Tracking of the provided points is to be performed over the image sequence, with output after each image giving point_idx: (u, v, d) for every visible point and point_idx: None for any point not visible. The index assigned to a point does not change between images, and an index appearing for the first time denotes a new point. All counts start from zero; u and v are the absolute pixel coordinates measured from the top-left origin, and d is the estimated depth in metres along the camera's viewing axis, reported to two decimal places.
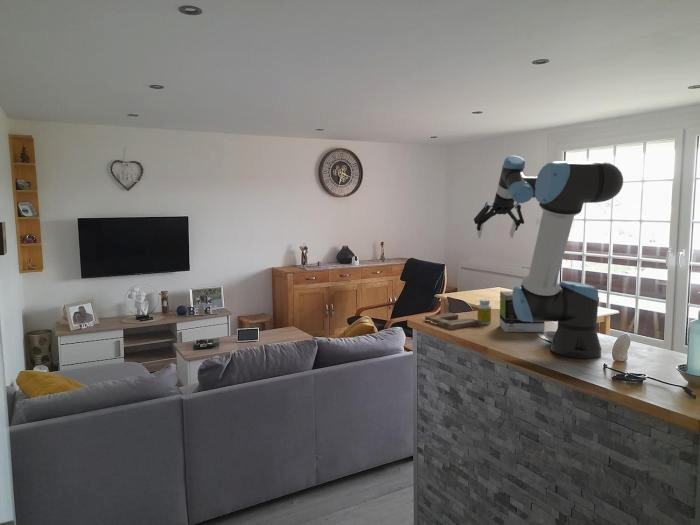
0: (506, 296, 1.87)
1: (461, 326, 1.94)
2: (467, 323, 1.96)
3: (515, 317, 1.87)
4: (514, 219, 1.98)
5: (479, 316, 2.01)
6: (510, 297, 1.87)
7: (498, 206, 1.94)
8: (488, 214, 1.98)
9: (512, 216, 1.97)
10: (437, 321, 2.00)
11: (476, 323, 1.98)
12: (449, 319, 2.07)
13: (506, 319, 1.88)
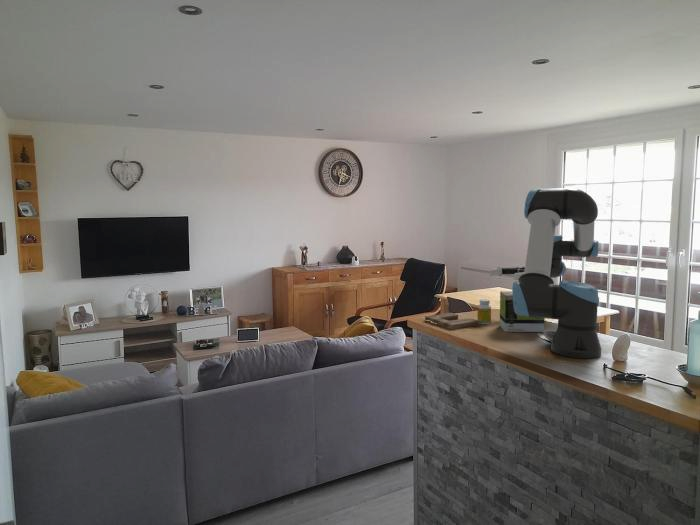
0: (506, 296, 1.87)
1: (461, 326, 1.94)
2: (467, 323, 1.96)
3: (515, 317, 1.87)
4: None
5: (479, 316, 2.01)
6: (510, 297, 1.87)
7: None
8: None
9: None
10: (437, 321, 2.00)
11: (476, 323, 1.98)
12: (449, 319, 2.07)
13: (506, 319, 1.88)
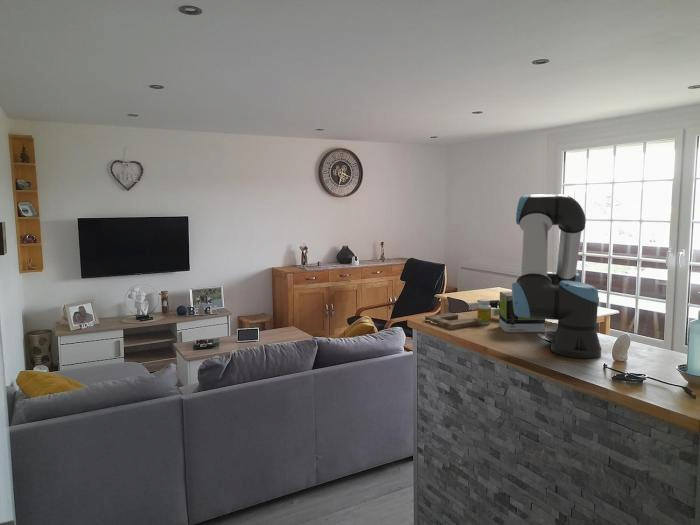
0: (507, 296, 1.86)
1: (461, 326, 1.94)
2: (467, 323, 1.96)
3: (516, 317, 1.86)
4: None
5: (479, 316, 2.01)
6: (511, 297, 1.86)
7: None
8: None
9: None
10: (437, 321, 2.00)
11: (476, 323, 1.98)
12: (449, 319, 2.07)
13: (507, 320, 1.87)
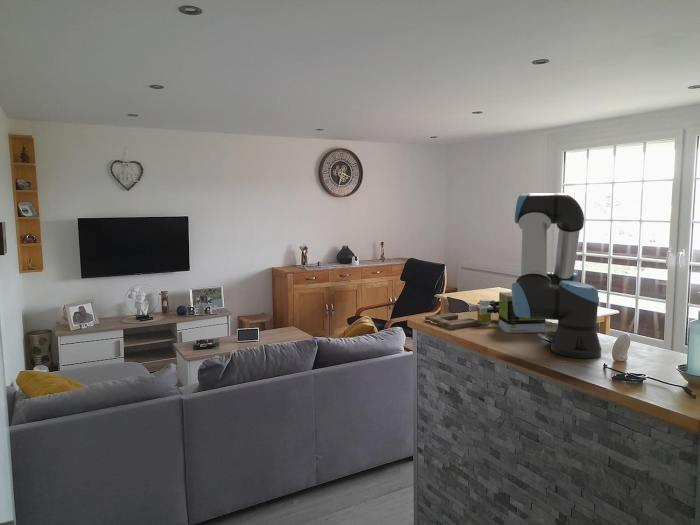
0: (508, 297, 1.85)
1: (461, 326, 1.94)
2: (467, 323, 1.96)
3: (517, 318, 1.86)
4: (498, 306, 2.02)
5: (479, 316, 2.01)
6: None
7: None
8: None
9: None
10: (437, 321, 2.00)
11: (476, 323, 1.98)
12: (449, 319, 2.07)
13: (508, 320, 1.86)
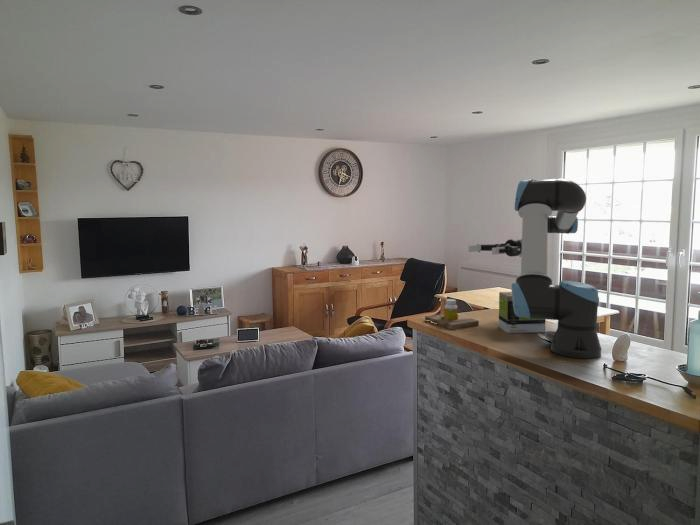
0: (508, 297, 1.85)
1: (461, 326, 1.94)
2: (467, 323, 1.96)
3: (517, 318, 1.86)
4: None
5: (445, 316, 2.02)
6: None
7: None
8: None
9: None
10: (437, 321, 2.00)
11: (476, 323, 1.98)
12: None
13: (508, 320, 1.86)
